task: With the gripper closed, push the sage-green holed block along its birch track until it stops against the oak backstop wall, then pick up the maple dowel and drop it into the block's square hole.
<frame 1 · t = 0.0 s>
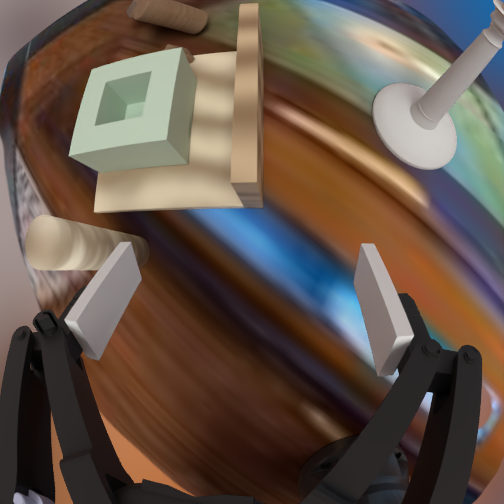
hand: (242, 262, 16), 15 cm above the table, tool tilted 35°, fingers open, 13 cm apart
sliding block: (135, 111, 29), point 5 cm above the table, slide at 6.0 cm
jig: (255, 119, 32), on the table
candlestick: (415, 125, 31), on the table
wooden block set: (180, 32, 34), on the table, touching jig
dowel: (135, 252, 33), on the table
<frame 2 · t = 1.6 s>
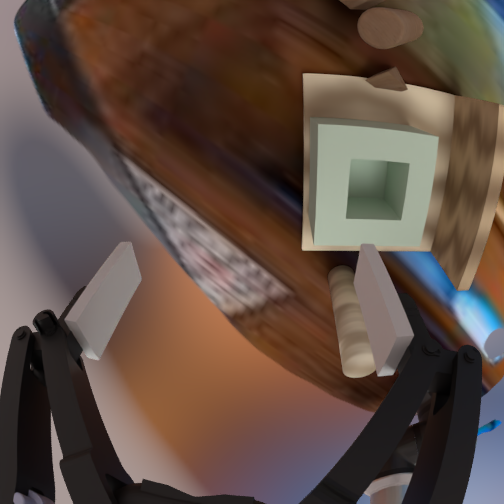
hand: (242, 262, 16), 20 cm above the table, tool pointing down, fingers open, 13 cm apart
sliding block: (368, 179, 28), point 5 cm above the table, slide at 6.0 cm
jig: (448, 176, 31), on the table
wooden block set: (371, 19, 22), on the table, touching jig
dowel: (341, 276, 41), on the table
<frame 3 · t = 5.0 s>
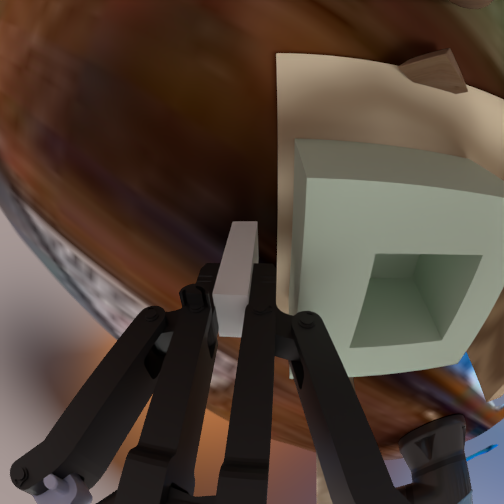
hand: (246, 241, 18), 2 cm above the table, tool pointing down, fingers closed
sliding block: (396, 263, 15), point 5 cm above the table, slide at 5.6 cm, touching gripper
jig: (500, 232, 18), on the table
dowel: (331, 362, 28), on the table
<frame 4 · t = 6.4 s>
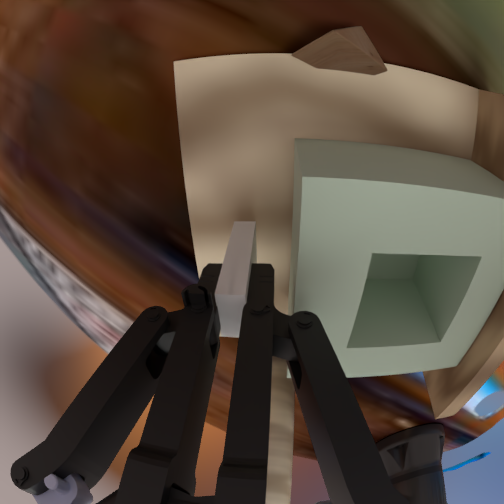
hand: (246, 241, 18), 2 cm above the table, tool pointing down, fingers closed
sliding block: (395, 264, 15), point 5 cm above the table, slide at -0.2 cm, touching gripper
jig: (456, 230, 18), on the table
dowel: (275, 362, 29), on the table
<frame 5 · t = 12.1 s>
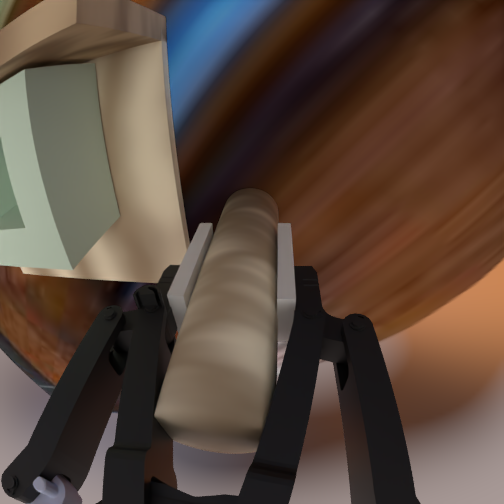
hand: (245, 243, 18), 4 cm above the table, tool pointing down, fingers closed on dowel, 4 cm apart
sliding block: (20, 169, 15), point 5 cm above the table, slide at 0.0 cm
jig: (45, 69, 15), on the table
dowel: (251, 213, 21), on the table, touching gripper
when the fingers open (10 cm above the table, at t = 17.7 s): dowel drops 3 cm, resting on sliding block.
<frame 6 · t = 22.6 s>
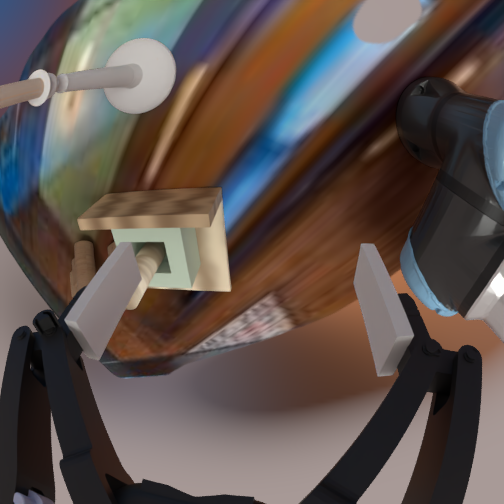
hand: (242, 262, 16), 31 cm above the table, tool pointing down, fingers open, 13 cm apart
sliding block: (157, 246, 48), point 5 cm above the table, slide at 0.0 cm, touching dowel
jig: (159, 195, 48), on the table
candlestick: (138, 75, 36), on the table
wooden block set: (91, 253, 55), on the table, touching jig
dowel: (161, 239, 50), point 2 cm above the table, touching sliding block
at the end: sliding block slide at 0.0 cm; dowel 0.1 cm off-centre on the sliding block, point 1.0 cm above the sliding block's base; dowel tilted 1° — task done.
